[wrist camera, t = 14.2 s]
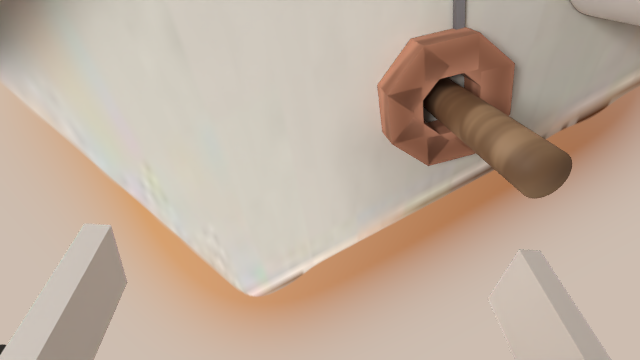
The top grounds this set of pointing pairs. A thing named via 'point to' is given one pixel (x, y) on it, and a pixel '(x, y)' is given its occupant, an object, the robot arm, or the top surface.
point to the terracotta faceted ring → (421, 76)
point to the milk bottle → (611, 9)
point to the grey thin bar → (458, 14)
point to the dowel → (500, 140)
